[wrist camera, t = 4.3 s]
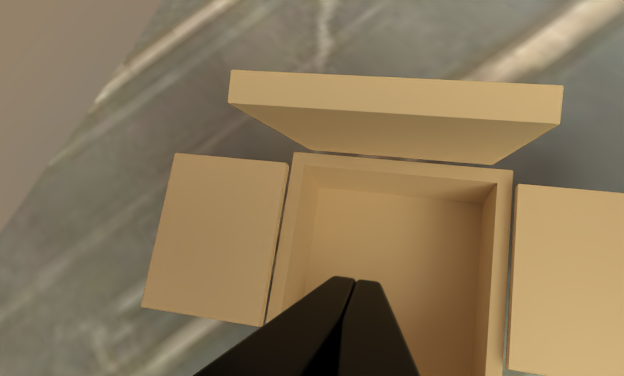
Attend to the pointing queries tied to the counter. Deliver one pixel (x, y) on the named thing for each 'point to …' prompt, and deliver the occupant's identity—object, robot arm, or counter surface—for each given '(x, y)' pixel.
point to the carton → (402, 256)
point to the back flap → (399, 113)
